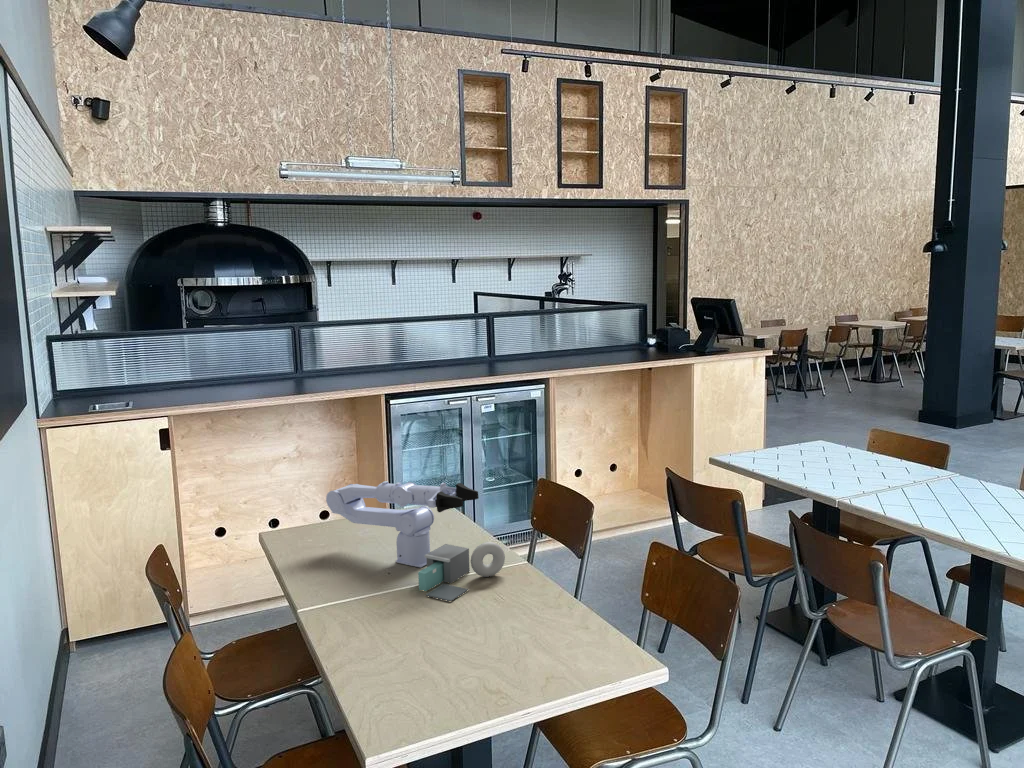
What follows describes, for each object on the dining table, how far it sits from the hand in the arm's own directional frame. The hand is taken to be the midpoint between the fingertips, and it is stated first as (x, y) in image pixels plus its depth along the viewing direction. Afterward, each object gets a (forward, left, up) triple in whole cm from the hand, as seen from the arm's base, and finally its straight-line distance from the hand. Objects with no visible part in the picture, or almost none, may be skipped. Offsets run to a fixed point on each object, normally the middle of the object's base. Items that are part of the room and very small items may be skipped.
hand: (470, 498), depth 212 cm
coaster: (+2, -15, -22) cm, 26 cm away
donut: (+5, 0, -22) cm, 23 cm away
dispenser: (-5, -5, -22) cm, 23 cm away
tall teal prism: (-5, -11, -22) cm, 25 cm away
